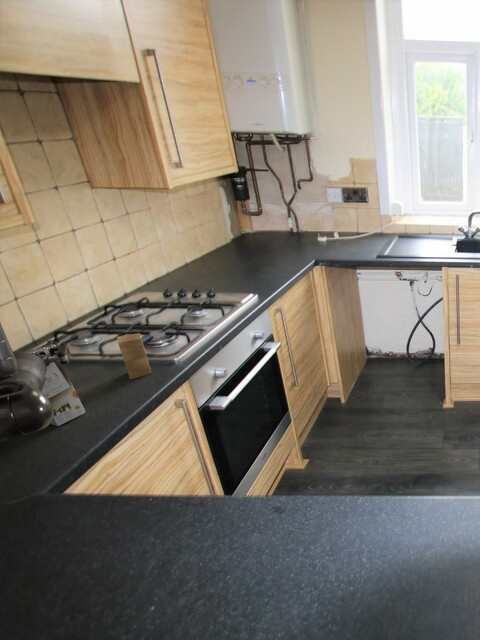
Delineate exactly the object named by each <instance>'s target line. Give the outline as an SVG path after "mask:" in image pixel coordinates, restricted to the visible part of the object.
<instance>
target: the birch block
mask: <svg viewBox="0 0 480 640" xmlns="http://www.w3.org/2000/svg"><path fill="white" fill-rule="evenodd" d="M116 340H117V344H118V347H119V350H120V353H121V356H122V360H123V363H124V365H125V369H126V372H127V375H128V379H129V380H133V379H136V378H140V377H143V376H147V375H151V374H152V369H151V366H150V363H149V359H148V356H147V353H146V349H145V345H144V342H143V340H142V337H141V333H140V332H138V333H132V334H127V335H126V334H125V335H121V336H116Z"/></svg>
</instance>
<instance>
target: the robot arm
mask: <svg viewBox="0 0 480 640" xmlns="http://www.w3.org/2000/svg"><path fill="white" fill-rule="evenodd" d="M31 350H32V351H30V350H29V351H30V352H27V351H13V348H12V347H11V344H10V341H9V339H8V337H7V335H6V333H5V330H4V328H3V325H2V323H1V321H0V443H2V442H5V441H9V440H13V439H15V438H19V437H22V436H26V435H30V434H34V433H38V432H39V431H42V430H44V429H46V428H47V427H49V425H51V424H50V423H51V422H52V421H53V418H54V409H53V406H52V404H51V402H50V401H49V399H48V398H47V397H46V396H45V395H44V394H43V393H42V390H43V388H44V385H45V382H46V367H47V366H49V365H50V363H53V362H58V363H61V365H63V366H64V365H67V364H69V363H70V360H71V356H72V354H71V351H70V348H69V345H68V343H67V342H66V343H65V342H62V343H60V344H58V342H57V340H56V341H53V340H52V339H50V340H47V341H46V346H43V347H37V348H34V350H33V349H31ZM48 351H49V353H50V355H49V353H48ZM38 353H39V354H38Z"/></svg>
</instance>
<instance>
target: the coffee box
mask: <svg viewBox="0 0 480 640" xmlns="http://www.w3.org/2000/svg"><path fill="white" fill-rule="evenodd" d="M34 349H35V348H34ZM34 349H30V350H27V351H26V352H30V351H32V350H34ZM38 354H39V353H38ZM49 355H50V353H49ZM65 369H66V368H65V367H64V365H61V363H58V362H53V363H50V365H49V366H47V367H46V382H45V385H44V388H43V390H42V393H43V394H44V395H45V396H46V397H47V398H48V399H49V401H50V402H51V404H52V406H53V409H54V418H53V421H52V422H51V423H50V424H49V425H53V426H55V427H59V426H62V425H63V424H65V423H68V422H70V421H71V420H75V419H76V418H78V417H80V416H82V415H84V414H86V409H85V408H84V406H83V404H82V402H81V399H80V397H79V396H78V393H77V392H76V390H75V387H74V385H73V383H72V381H71V379H70V377H69V375H68V373H67V371H66V370H65Z"/></svg>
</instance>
